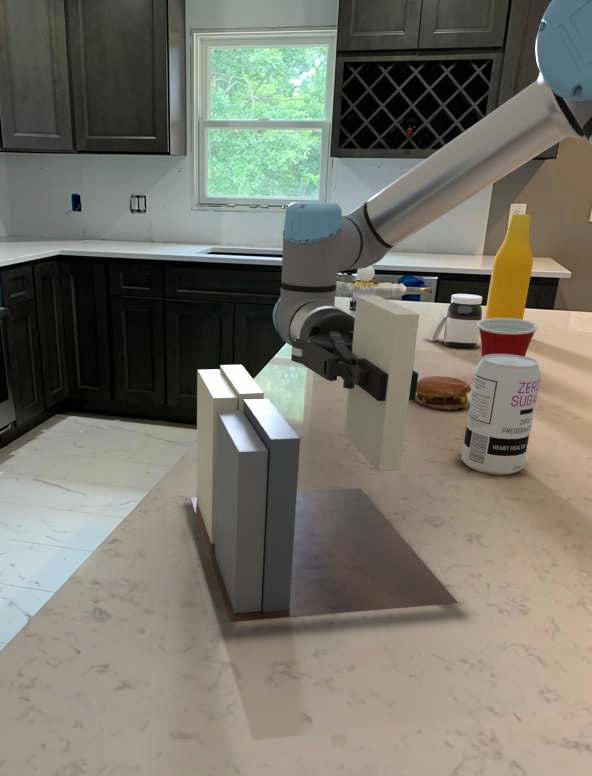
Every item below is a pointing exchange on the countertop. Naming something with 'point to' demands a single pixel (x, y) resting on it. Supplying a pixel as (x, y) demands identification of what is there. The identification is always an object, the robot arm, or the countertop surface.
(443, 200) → the robot arm
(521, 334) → the plastic cup
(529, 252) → the beer bottle
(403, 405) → the cream book
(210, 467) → the cream books
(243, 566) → the grey books
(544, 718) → the countertop surface
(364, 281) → the perfume bottle
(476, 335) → the spread jar
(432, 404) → the burger
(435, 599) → the shelf board
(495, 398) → the supplement can
